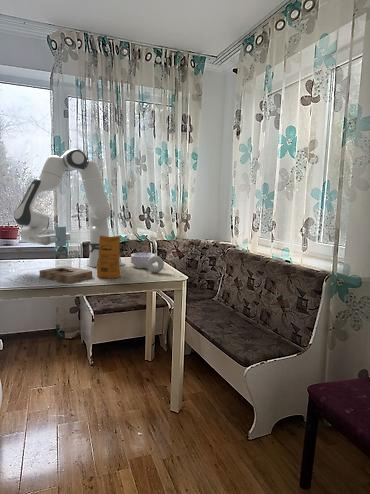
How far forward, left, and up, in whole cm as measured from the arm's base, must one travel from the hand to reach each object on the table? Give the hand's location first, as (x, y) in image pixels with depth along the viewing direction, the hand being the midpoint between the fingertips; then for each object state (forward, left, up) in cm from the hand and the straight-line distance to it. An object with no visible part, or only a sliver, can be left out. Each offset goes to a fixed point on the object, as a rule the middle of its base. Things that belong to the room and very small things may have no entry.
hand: (62, 239), depth 173 cm
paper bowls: (-50, -5, -20) cm, 54 cm away
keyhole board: (-1, +2, -20) cm, 20 cm away
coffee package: (-21, +10, -20) cm, 31 cm away
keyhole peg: (0, -1, -8) cm, 8 cm away
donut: (-48, +13, -20) cm, 54 cm away
